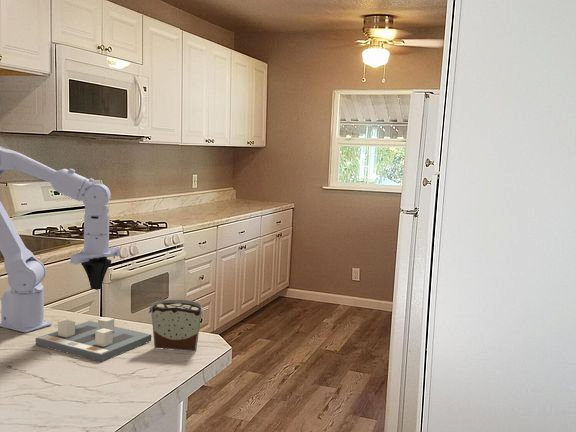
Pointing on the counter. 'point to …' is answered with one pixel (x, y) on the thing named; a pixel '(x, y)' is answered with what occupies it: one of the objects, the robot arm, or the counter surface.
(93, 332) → the switch board
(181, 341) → the food container
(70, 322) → the beige small block
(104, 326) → the tab
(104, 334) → the tab
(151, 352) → the counter surface
